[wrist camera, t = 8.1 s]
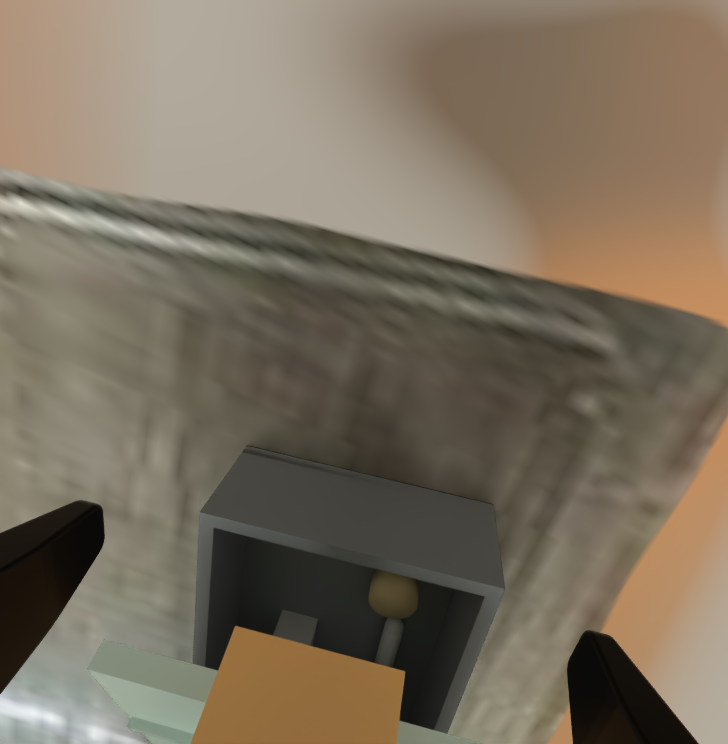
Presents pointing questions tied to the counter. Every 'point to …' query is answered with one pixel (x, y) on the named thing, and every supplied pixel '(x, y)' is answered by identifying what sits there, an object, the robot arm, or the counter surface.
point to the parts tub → (350, 573)
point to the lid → (260, 696)
